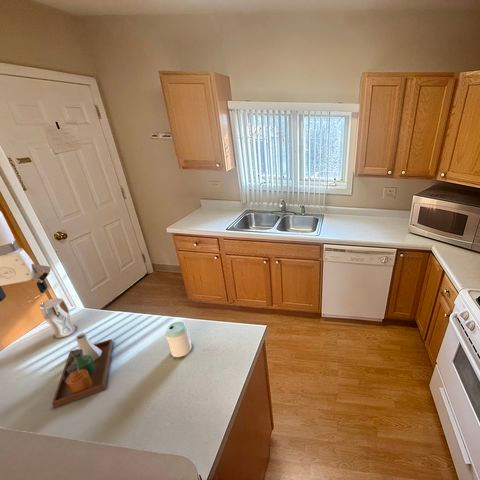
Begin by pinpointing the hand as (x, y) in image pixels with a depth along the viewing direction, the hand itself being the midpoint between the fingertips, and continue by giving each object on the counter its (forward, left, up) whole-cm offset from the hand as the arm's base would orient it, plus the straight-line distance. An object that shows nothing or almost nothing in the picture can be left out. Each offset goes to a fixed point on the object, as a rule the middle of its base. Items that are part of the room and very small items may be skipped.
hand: (23, 294), depth 84 cm
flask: (+12, -10, -26) cm, 30 cm away
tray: (+12, -16, -26) cm, 33 cm away
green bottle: (+12, -17, -26) cm, 33 cm away
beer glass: (+1, +11, -26) cm, 29 cm away
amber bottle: (+12, -23, -26) cm, 37 cm away
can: (+41, -22, -26) cm, 53 cm away
